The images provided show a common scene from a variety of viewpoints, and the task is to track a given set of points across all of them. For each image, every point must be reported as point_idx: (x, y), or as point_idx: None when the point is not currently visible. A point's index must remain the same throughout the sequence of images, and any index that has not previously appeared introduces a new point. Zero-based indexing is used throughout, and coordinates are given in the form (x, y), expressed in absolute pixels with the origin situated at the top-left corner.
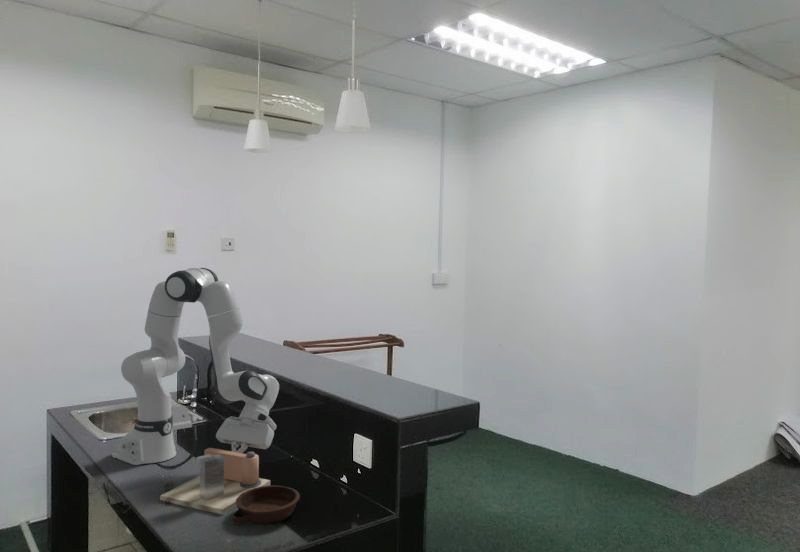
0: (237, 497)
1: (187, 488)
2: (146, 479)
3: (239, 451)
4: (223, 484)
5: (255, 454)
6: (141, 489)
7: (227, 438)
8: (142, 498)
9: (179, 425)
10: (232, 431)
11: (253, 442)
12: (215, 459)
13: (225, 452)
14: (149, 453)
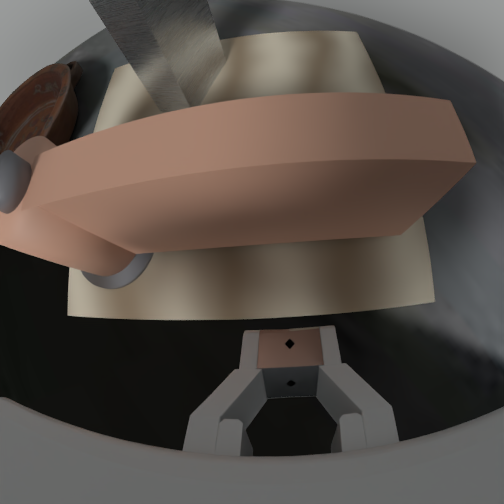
0: (69, 77)
1: (334, 81)
2: None
3: (240, 371)
4: (144, 84)
5: (1, 237)
6: (468, 81)
7: (485, 421)
8: (406, 43)
9: None
10: None
11: (57, 426)
12: None
13: (227, 125)
14: None
